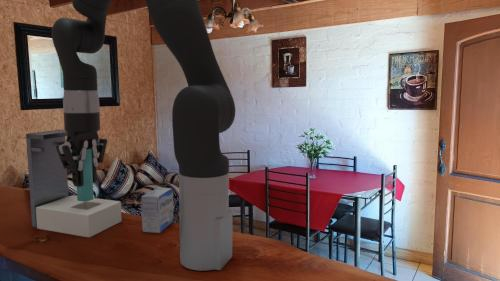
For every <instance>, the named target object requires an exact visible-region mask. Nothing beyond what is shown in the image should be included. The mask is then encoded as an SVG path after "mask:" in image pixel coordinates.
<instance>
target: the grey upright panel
mask: <svg viewBox="0 0 500 281" xmlns="http://www.w3.org/2000/svg"><path fill="white" fill-rule="evenodd" d="M67 136H68V134H67V132H66V131H65V129H54V130H46V131H39V132H38V131H37V132H29V133H26V134H25V139H26V140H25V141H26V152H27V154H26V155H27V168H28V171H27V172H28V184H29V197H30V213H31V215H30V216H31V225H32V226H31V227H32V228H37V218H36V207H39V206H42V205H45V204H48V203H51V202H54V201H57V200H60V199H63V198H66V197H69V183H68V182H69V181H68V169H65V168H64V167H63V164H62V162H61V159H60V157H59V154H58V152H57V149H56V146H57V145H62V144H64V143H65V142H66V137H67Z"/></svg>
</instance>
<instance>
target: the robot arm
mask: <svg viewBox="0 0 500 281" xmlns="http://www.w3.org/2000/svg"><path fill="white" fill-rule="evenodd" d="M112 1H113V0H71V4H72V7H73V9H74V10H75V11H76V12H78V13H79V15H82V16H84V17H86V20H80V19H75V18H74V19H73V18H69V17H61V18H58V19H57V20H56V21H54V23H53V25H52V27H51V39H52V44H53V46H54V49H55V52H56V54H57V57H58V61H59V64H60V67H61V71H62V81H63V82H62V83H63V85H62V86H63V97H62V105H63V108H62V109H63V123H64V124H63V125H64V126H63V127H64V129H63V130H65V131H66V132H67V134H68V136H66V138H65V143H64V144H62V145H57V146H56V149H57V152H58V154H59V157H60V159H61V162H62V164H63V167H64V168H65V169H67V170H71V179H72V181H71V182H72V184H73V186H74V187H76V188H77V187H81V186H83V171H82V167H83V161H84V160H85V157H86V149H91V150H92V173H93V184H94V183H96V182H97V178H98V177H97V173H98V172H97V167H98V165H99V164H102V163H103V162H104V157H105V153H106V149H107V146H108V139H107V138H102V137H100V136H99V134H98V132H99V131H100V130H101V114H100V98H99V91H98V71H97V69H96V67H95V66H94V65H92V64H90V63H86V62H83V61H82V60H81V59H80V57H79V55H78V53H79V54H90V55H91V54H92V55H93V54H95V53H97V52H99V51H100V50H101V49H102V48H103V46H104V43H105V37H106V25H107V24H106V23H107V14H108V11H109V8H110V6H111V4H112ZM144 1H145V4H146V6H147V10H148V13H149V16H150V20H151V22H152V24H153V27H154V29H155V30H156V32H157V34H158V35H159V36H160V38H161V40H162V41H163V43H164V44H165V46H166V47H167V49H168V50H169V51H170V52H171V54H172V56H174V58H175V59H176V61H177V63H178V64H179V66H180V68H181V70H182V71H183V74H184V77H185V81H186V83H187V86H185V87H184V88H182V89H181V90H179V92H178V93H177V95H176V96H175V98H174V100H173V105H172V112H171V115H172V116H171V122H172V125H171V126H172V138H173V139H172V140H173V152H174V157H175V160H176V162H177V164H178V186H179V187H178V193H179V194H178V196H179V198H178V199H179V201H178V203H179V204H178V205H179V216H178V217H179V260H180V261H179V262H180V265H181V266H183V267H184V268H186V269H187V270H188V269H189V270H191V271H192V270H194V271H199V272H202V271H213V270H215V271H221V270H222V269H223V268H224V267H225V265H226V264H228V262H230V260H231V259H232V258H233V221H234V220H233V214H234V213H233V210H232V209H229V208H230V207H229V206H230V204H229V200H230V199H229V198H230V196H229V193H230V191H229V188H230V187H229V186H230V185H229V184H230V161H229V158H228V156H226V154H223V153H222V150H221V144H220V134H222V133H224V132H226V131H227V130H229V129H230V127H231V126H232V125H233V123H234V121H235V119H236V118H235V116H236V103H235V100H234V97H233V95H232V92H231V90H230V88H229V86H228V83H227V81H226V79H225V77H224V75H223V72H222V69H221V68H220V65H219V62H218V60H217V57H216V55H215V52H214V49H213V45H212V43H211V39H210V36H209V33H208V30H207V27H206V24H205V21H204V18H203V14H202V11H201V7H200V4H199V3H200V2H199V0H144ZM75 155H80V156H79V157H76V156H75ZM76 160H77V161H78V162H77V165H76Z"/></svg>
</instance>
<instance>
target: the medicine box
mask: <svg viewBox="0 0 500 281" xmlns="http://www.w3.org/2000/svg"><path fill="white" fill-rule="evenodd" d="M173 194H174V192H173V188H171V187H156V188H154V189H152V190H150V191H149V192H147V193H145V194H144V195H142V196H141V227H142V232H143V233H151V234H161V233H162V232H164V230H166V229H167V228H168V227H169V226H170V225H171V224H172V223H174V195H173Z"/></svg>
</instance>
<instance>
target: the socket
mask: <svg viewBox="0 0 500 281" xmlns="http://www.w3.org/2000/svg"><path fill="white" fill-rule="evenodd" d="M36 218H37V227H36V229H37V230H38V229H39V230H44V231H49V232H54V233H55V232H56V233H61V234H66V235H67V234H68V235H72V236H78V237H85V238H91V237H93V236H95V235H97V234H99V233H101V232H103V231H106V230H107V229H109V228H110V227H113V226H114V225H117V224H119V223H121V222H122V201H119V200H111V199H103V198H95V197H94V199H93V200H90V201H78V200H77V195H74V194H73V195H68V197H66V198H63V199H60V200H57V201H54V202H51V203H48V204H45V205H42V206H39V207H36Z"/></svg>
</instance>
